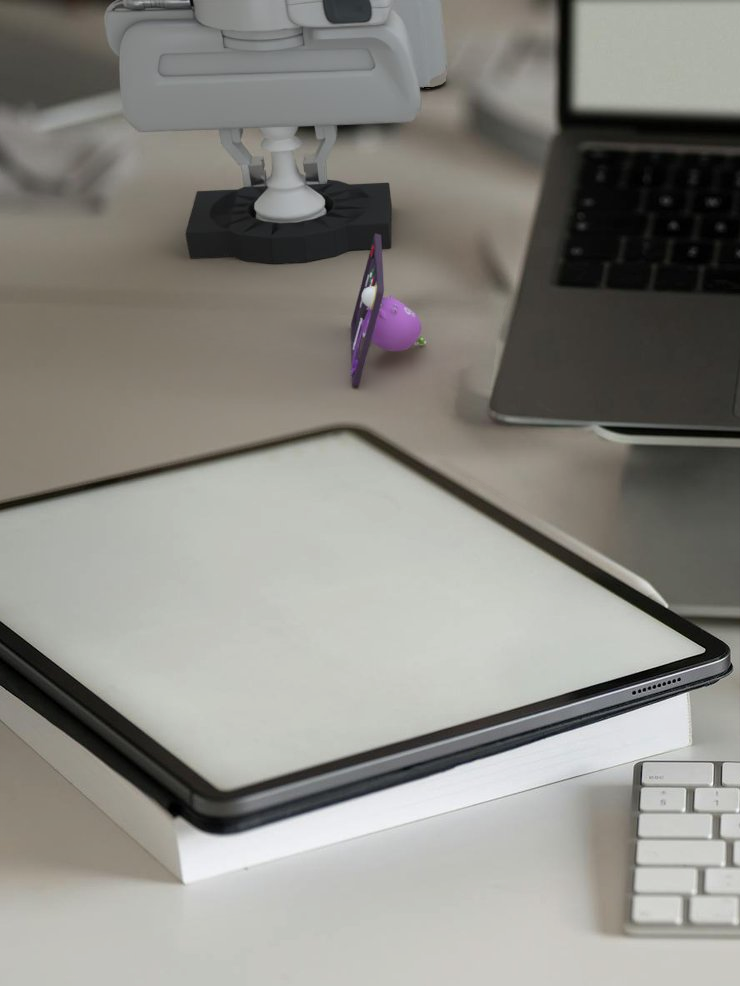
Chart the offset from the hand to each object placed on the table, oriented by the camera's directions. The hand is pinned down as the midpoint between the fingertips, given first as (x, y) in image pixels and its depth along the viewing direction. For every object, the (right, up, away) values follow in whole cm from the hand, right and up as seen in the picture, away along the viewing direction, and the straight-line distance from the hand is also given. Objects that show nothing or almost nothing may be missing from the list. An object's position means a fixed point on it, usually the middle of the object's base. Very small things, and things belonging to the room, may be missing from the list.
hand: (287, 183), depth 123 cm
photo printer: (0, +16, +32) cm, 36 cm away
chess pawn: (0, -3, +2) cm, 3 cm away
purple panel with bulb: (+11, -14, -14) cm, 22 cm away
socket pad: (0, -3, +2) cm, 4 cm away
